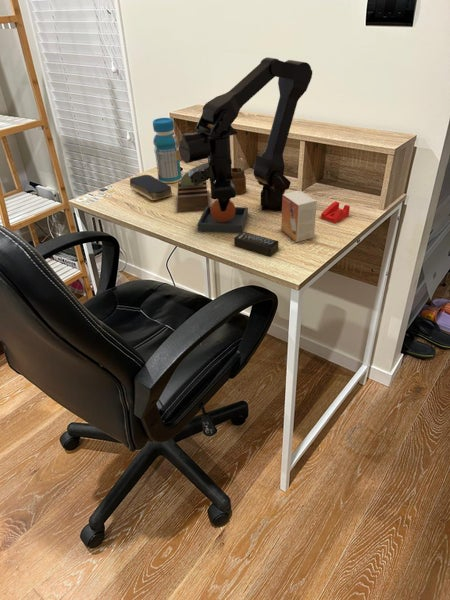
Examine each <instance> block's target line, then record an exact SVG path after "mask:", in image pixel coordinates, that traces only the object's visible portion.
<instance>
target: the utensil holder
mask: <svg viewBox="0 0 450 600" xmlns="http://www.w3.org/2000/svg"><path fill="white" fill-rule="evenodd" d="M238 161H239V162H238ZM240 162H241V165H240ZM236 164H238V165H237V167H231V170H232V184H234V186H235V193H236V195H241V194H244V193H245V192H246V190H247V178H246V177H247V176H246V175H245V169H244V167H245V165H243V164H244V159H243V158H238V159H237V162H236ZM240 166H241V167H240Z"/></svg>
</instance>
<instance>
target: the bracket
mask: <svg viewBox="0 0 450 600" xmlns="http://www.w3.org/2000/svg"><path fill="white" fill-rule="evenodd" d="M350 209H351V206H350V205H348V204H344V205H343V208H340V202H339V201H334V202H332V203H330V204H329V206H328V207H326V208H325V209H324V211H322V212H321V214H320V219H321V220H325V221H326V222H330V223H333V224H337V223H338V222H340V221H342V220H344V219H345V218H347V217H349V216H350Z"/></svg>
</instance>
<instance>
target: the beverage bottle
mask: <svg viewBox="0 0 450 600" xmlns="http://www.w3.org/2000/svg"><path fill="white" fill-rule="evenodd" d="M152 128H153V132H154V133H155V134H154V136H153V139H152V140H153V141H152V144H153V145H154V147H153V153H154V155H155V162H156V170H157V179H158V180H160V181H161V182H163V183H165V184H174V183H179V182H180V181H181V177H182V175H183V174H182V169H181V162H180V161H181V160H180V152H179V144H178V142H179V139H178V137H177V135H176V133H175V132H174V130H175V123H174V119H173V118H171V117H159V118H155V119H153V120H152Z"/></svg>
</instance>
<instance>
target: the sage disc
mask: <svg viewBox="0 0 450 600" xmlns="http://www.w3.org/2000/svg"><path fill="white" fill-rule="evenodd" d="M181 175H182V177H181V180H180V182H181V186H194V185H193V183H192V182H191V179H190V177H189V170H188V171H185V172H184V173H183V174H181ZM199 185H203V182H202V183H200V184H199Z"/></svg>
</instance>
